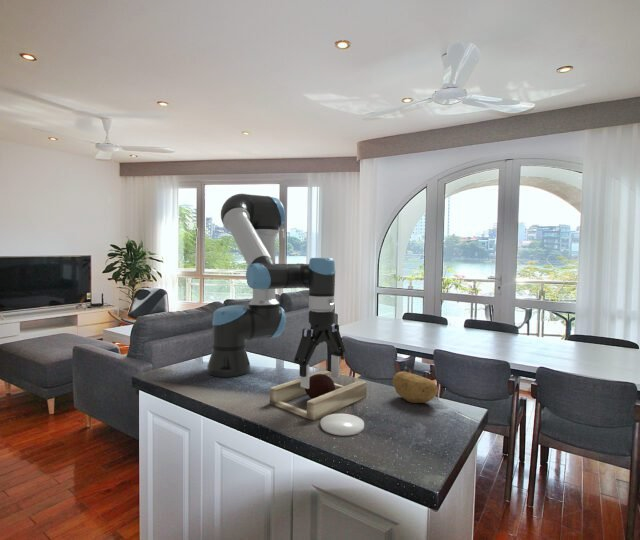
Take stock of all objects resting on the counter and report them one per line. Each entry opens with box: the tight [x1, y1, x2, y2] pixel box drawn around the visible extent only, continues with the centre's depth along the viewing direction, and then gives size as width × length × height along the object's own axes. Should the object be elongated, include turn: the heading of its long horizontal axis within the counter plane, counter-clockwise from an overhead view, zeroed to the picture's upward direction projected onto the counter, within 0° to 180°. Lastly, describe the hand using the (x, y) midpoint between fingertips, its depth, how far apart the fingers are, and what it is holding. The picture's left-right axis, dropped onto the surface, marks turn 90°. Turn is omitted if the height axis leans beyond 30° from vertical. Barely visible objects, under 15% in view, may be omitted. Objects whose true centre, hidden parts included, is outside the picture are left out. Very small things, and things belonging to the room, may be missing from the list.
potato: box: [392, 371, 439, 404], centre depth 116 cm, size 10×14×8 cm
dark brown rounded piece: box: [305, 374, 336, 400], centre depth 115 cm, size 8×9×8 cm
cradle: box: [269, 369, 368, 422], centre depth 115 cm, size 17×24×4 cm
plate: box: [320, 413, 365, 437], centre depth 98 cm, size 11×11×1 cm
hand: (320, 382), depth 115 cm, fingers open, 13 cm apart
